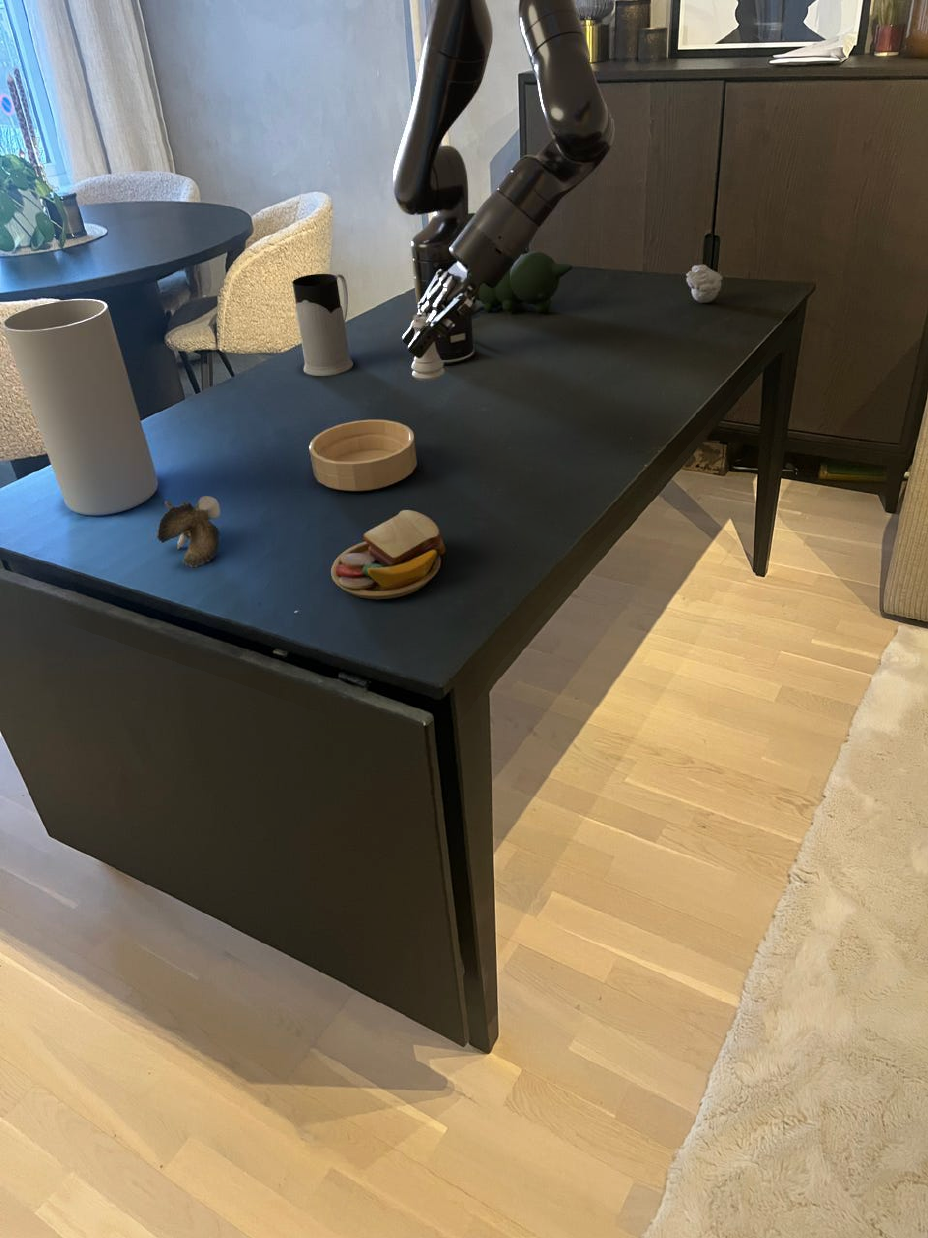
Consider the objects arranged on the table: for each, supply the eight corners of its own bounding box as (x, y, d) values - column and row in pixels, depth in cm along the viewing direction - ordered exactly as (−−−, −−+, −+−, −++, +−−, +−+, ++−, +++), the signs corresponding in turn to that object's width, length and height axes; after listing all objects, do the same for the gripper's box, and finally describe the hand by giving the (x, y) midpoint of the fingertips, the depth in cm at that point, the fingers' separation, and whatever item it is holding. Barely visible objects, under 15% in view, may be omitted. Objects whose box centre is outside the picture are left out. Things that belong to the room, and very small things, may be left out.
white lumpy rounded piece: (680, 299, 182) (682, 262, 179) (715, 296, 183) (718, 258, 179) (689, 309, 178) (692, 270, 174) (726, 305, 178) (729, 267, 174)
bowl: (317, 454, 136) (312, 425, 134) (415, 444, 137) (412, 415, 134) (312, 499, 125) (306, 468, 122) (418, 488, 125) (415, 457, 122)
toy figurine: (450, 321, 187) (567, 319, 176) (434, 220, 177) (556, 211, 166) (471, 306, 194) (585, 303, 183) (456, 209, 184) (576, 199, 173)
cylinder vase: (108, 525, 123) (45, 335, 108) (47, 506, 129) (-21, 324, 114) (178, 485, 131) (128, 304, 117) (118, 469, 137) (63, 295, 123)
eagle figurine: (154, 529, 118) (145, 553, 110) (174, 479, 116) (166, 498, 108) (212, 552, 121) (208, 576, 113) (233, 503, 119) (230, 524, 111)
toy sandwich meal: (316, 566, 110) (309, 531, 108) (419, 532, 115) (415, 498, 112) (358, 616, 101) (351, 579, 98) (468, 578, 106) (465, 541, 103)
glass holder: (294, 373, 164) (278, 286, 156) (333, 346, 175) (320, 263, 166) (338, 377, 161) (324, 288, 153) (375, 349, 172) (364, 264, 163)
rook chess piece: (449, 370, 127) (444, 310, 122) (438, 382, 124) (432, 321, 119) (419, 368, 128) (412, 309, 124) (407, 380, 125) (400, 320, 120)
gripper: (459, 208, 122) (378, 316, 127) (486, 231, 111) (397, 349, 116) (500, 245, 126) (421, 349, 131) (531, 271, 115) (443, 383, 120)
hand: (410, 348), depth 123 cm, fingers closed on rook chess piece, 3 cm apart
